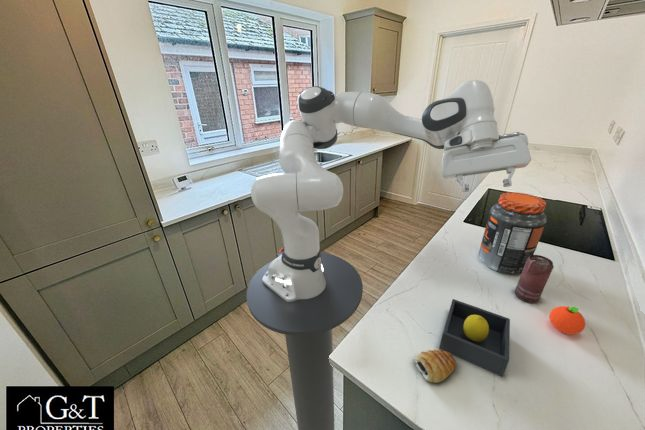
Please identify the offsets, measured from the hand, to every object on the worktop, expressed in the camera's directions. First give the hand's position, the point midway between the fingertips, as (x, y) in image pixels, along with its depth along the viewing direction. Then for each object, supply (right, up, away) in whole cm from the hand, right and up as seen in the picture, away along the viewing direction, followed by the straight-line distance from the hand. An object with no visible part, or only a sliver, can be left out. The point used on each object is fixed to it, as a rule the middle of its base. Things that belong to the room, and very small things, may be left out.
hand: (486, 188), depth 69 cm
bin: (-4, -40, -1) cm, 40 cm away
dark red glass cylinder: (+20, -33, +13) cm, 40 cm away
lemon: (-4, -39, -1) cm, 40 cm away
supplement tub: (+23, -25, +28) cm, 44 cm away
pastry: (-17, -43, -7) cm, 47 cm away
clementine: (+22, -38, +2) cm, 44 cm away
